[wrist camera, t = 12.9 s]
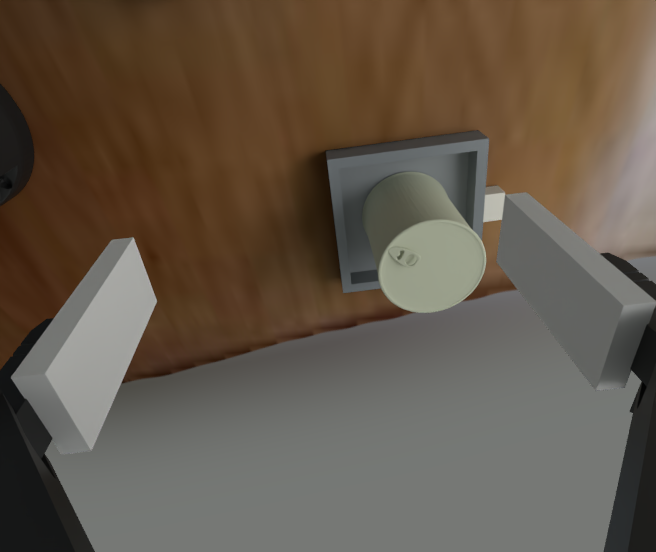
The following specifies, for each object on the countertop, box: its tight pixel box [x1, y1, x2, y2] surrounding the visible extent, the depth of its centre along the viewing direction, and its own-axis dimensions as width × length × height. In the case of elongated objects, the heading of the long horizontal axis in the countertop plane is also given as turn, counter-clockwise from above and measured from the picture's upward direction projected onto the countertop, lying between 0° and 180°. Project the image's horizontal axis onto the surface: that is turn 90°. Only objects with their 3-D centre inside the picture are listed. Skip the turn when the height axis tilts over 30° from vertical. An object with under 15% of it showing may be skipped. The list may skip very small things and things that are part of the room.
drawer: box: [326, 130, 505, 293], centre depth 46 cm, size 17×15×3 cm
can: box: [362, 172, 486, 313], centre depth 42 cm, size 9×9×12 cm
